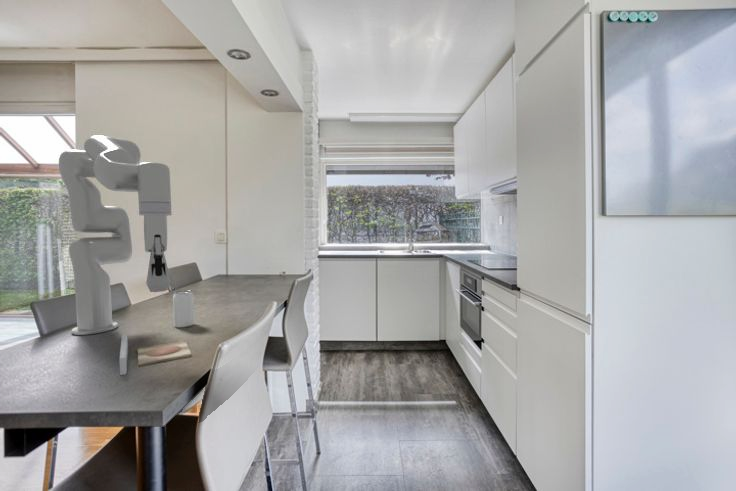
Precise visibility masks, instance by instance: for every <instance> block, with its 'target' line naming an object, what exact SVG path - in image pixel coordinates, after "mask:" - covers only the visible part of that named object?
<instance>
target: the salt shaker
mask: <svg viewBox="0 0 736 491" xmlns="http://www.w3.org/2000/svg"><path fill="white" fill-rule="evenodd" d="M153 252H156V250H155V249H153ZM161 252H162V249H161ZM148 253H150V255H149V261H148V269H147V275H146V286H147V289H148V290H149V292H151V293H159V292H167V291H168V290H169V288H170V285H171V282H172V279H171V276H170V271H169V266H168V263H167V260H166V256H165V254H164V263H165V270H166V276H165V273H164V271H163V267H162V275H161V276H156V275H155V268H154V271H153V275H152V270H151V264H152V249H151V250H148ZM154 255H155V254H154ZM154 259H155V258H154Z"/></svg>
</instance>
